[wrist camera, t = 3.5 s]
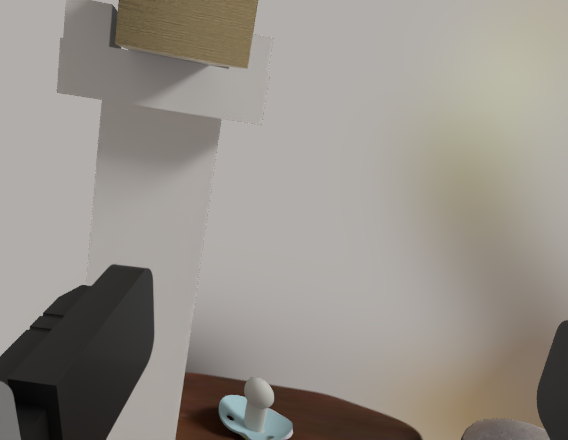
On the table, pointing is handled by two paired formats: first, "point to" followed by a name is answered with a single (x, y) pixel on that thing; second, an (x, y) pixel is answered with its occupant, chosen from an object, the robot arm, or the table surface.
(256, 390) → the pacifier
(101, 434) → the robot arm
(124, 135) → the stand
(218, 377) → the table surface
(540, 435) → the pillar candle
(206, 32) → the bar
